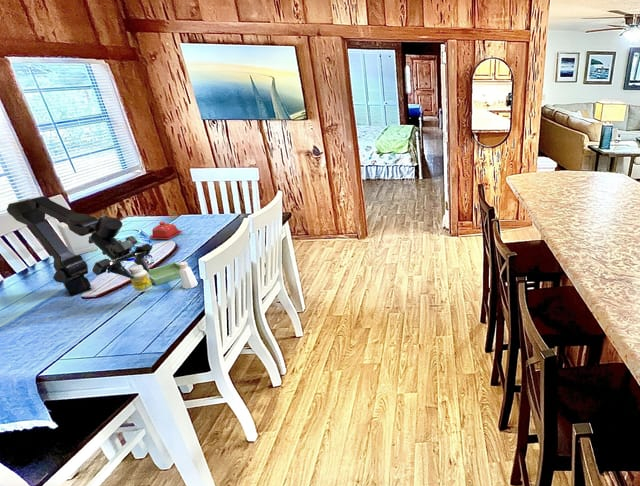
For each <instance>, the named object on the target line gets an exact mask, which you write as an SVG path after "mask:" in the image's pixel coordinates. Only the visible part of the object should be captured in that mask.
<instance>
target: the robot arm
mask: <svg viewBox="0 0 640 486" xmlns="http://www.w3.org/2000/svg"><path fill="white" fill-rule="evenodd" d="M6 212H7V213H8V214H9V215H10V216H11V217H12V218H13V219H14V220H15V221H16V222H18V223H21V224H24V225H25V226H27V227H28V228H29V230H31V232H32V233H33V235H35V237H36V238H37V239H38V240H39V242H40V243H41V244H42V246H43V247H44V248H45V250H46V251H47V252H48V253H49V254H50V256H51V257H52V258H53V268H54V270H55V273H54V275H53V277H52V278H53V280H54V281H55V283H59V284H60V283H61V284H63V287H64V288H65V292H66V293H67V294H68V295H69V296H70V297H73V296H76V295H79V294H82V293H84V292H88V291H91V290H92V288H91V287H92V285H91V283H90V281H89V278H88V277H87V276H86V275H87V274H89V267H88V263H87V262H86V260H84V258H83V257H82V255H81V254H79V255H74V254H72V253H71V252H70V251H69V249H68V247H67V246H66V244H64V243H63V242H62V240H61V239H60V238H59V236H58V235H57V234H56V233H55V230H53V228H52V227H51V226H50V224H48V222H47V221H46V215H47V216H49V217H51V218H54V219H55V220H58V221H59V222H60V223H61V222H63V223H65V224H67V225H68V227H69V230H71V231H72V232H74V233H76V234H77V235H79V236H84V235H87V234H90V233H91V234H92V235H91V236H89V240H88V242H89V244H91V243H94V244H95V245H96V246H97V248H98V249H100V251H102V252H101V254H102V255H103V256H107V257H108V258H103V259H100V260H98V261H96V262H94V265H93V267H92V269H91V270H92V273H94V275H96V276H101V275H102V274H105V273H107V274H110V273H111V274H115V275H119V276H123V277H126V278H128V279H130V278H131V279H133V278H134V276H133V275H132V274H131V272H130V271H129V270H128V269H126V268H125V267H124V266H123V265H122V263H123V262H124V261H127V260H130V259H131V258H132V259H134V260H133V262H134V263H135V265H142V267H143V269H144V270H146V271H147V272H149V270H150V269H149V266H148V264H147V262H146V258H145V257H146V256H148V255H149V254H150V253H151V251H152V249H153V246H152V245H151V244H150V243H146V242H145V243H142V244H140V245H137V246H136V244H138V243H139V242H138V240H137V238H135V237H134V236H133V235H130V236H128V237H125V240H123V241H122V240H121V239H120V240H118V239H117V238H116V236H117V235H118V234H119V232H120V230H121V229H122V227H123V222H122V220H120V219H118V218H116V217H112V216H107V215H106V214H104V215H101V216H99V218H97V217H95V216H92V215H89V214H88V213H87V214H86V213H78V212H75V211H74V210H71V209H69V208H68V207H65V206H63V205H61V204H59V203H57V202H55V201H54V200H51V199H50V198H49V197H48V196H46V195H40V196H37V197H32V198H27V199H22V200H17V201H15V202H11V203H9V204H7V207H6ZM133 248H135V249H134V250H133V251H132V249H133ZM131 279H130V280H131Z"/></svg>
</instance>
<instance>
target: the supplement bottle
mask: <svg viewBox="0 0 640 486" xmlns="http://www.w3.org/2000/svg"><path fill="white" fill-rule="evenodd" d="M128 271H129V272H130V273H131V274H132V275H133V276H134V278H133V279H131V278H129V279H130V282H131V284H132V286H133V288H134V291H135V292H136V293H137V292H138V293H141V292H142V293H143V292H146V291H149V290H151V289H152V288H153V282H151V281H150V278H149V275H148V273H147V271H146V270H144V269H143V267H142V265H137V264H135V265H131V266H130V267H129V268H128Z"/></svg>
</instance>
